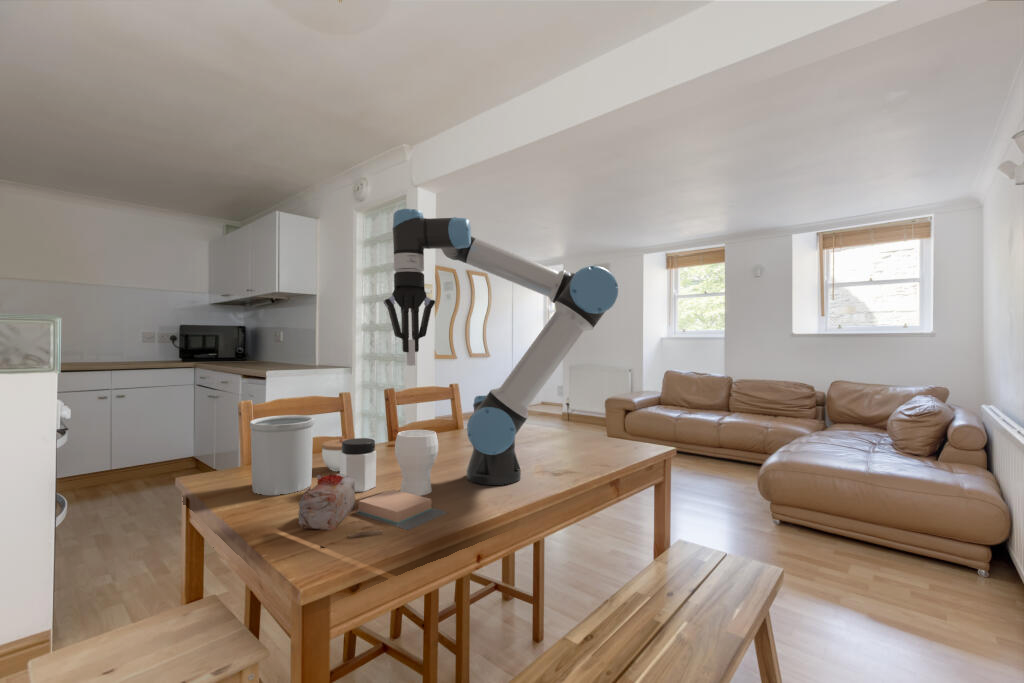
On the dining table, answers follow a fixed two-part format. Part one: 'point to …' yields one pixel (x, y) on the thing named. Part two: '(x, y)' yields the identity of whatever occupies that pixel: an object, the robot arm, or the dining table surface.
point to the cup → (416, 459)
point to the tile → (394, 506)
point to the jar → (359, 462)
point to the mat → (413, 521)
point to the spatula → (363, 534)
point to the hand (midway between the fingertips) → (411, 365)
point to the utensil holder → (281, 454)
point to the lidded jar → (332, 453)
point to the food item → (327, 502)
